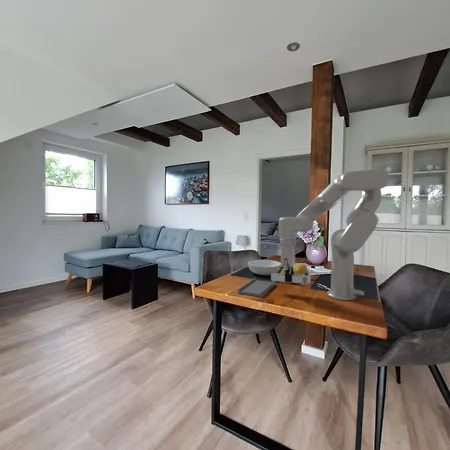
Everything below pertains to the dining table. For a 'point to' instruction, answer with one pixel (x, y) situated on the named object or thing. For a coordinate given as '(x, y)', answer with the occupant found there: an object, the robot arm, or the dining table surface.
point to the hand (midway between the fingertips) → (289, 280)
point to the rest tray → (256, 288)
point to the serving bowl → (264, 266)
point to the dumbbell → (298, 270)
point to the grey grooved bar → (295, 277)
